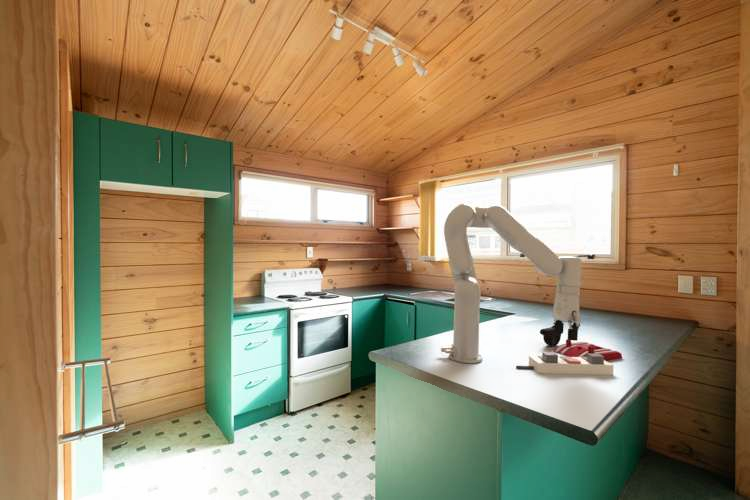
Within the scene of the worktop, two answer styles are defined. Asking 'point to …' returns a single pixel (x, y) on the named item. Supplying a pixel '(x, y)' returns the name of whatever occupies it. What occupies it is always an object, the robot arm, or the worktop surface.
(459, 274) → the robot arm
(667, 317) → the worktop surface
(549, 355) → the button
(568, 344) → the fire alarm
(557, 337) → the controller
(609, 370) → the button panel
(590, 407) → the worktop surface
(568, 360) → the button
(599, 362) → the button
